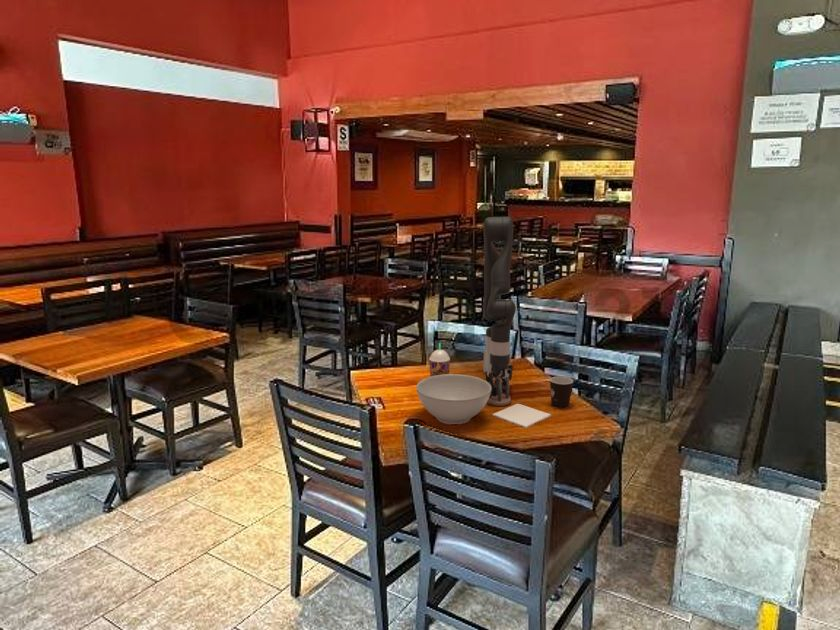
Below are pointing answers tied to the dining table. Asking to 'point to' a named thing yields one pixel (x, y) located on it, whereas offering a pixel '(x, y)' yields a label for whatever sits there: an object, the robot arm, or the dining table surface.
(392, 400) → the dining table surface
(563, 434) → the dining table surface
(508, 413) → the mat
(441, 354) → the smoothie
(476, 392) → the decorative bowl
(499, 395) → the stool
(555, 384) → the coffee mug
